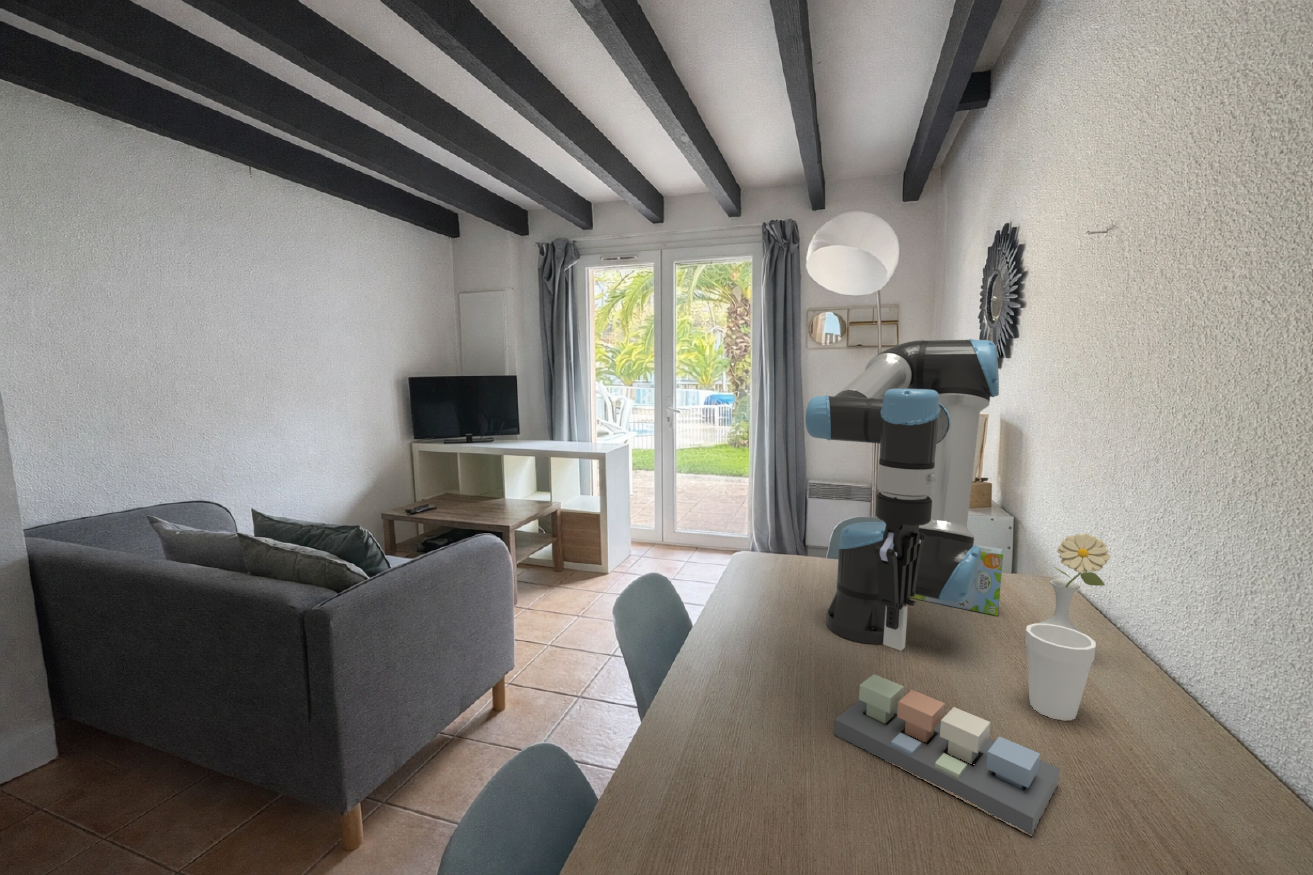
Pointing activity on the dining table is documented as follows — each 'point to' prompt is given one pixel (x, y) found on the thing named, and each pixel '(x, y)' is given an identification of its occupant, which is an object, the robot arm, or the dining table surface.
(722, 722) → the dining table surface
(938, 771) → the keypad
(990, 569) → the snack box
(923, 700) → the key terracotta
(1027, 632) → the foam cup
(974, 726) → the key cream
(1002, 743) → the key slate
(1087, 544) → the flower in vase
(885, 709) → the key sage
